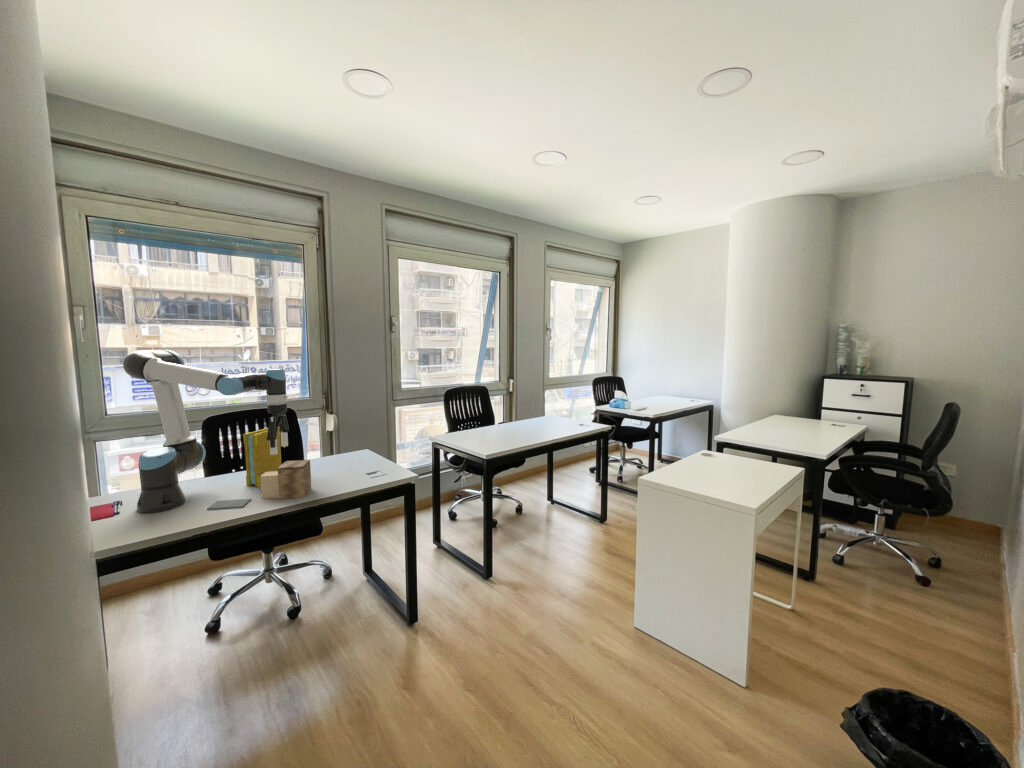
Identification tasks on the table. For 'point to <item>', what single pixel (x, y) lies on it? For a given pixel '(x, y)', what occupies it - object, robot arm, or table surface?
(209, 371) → the robot arm
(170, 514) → the table surface
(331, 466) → the table surface
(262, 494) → the blank
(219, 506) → the pad
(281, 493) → the wooden box
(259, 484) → the book
